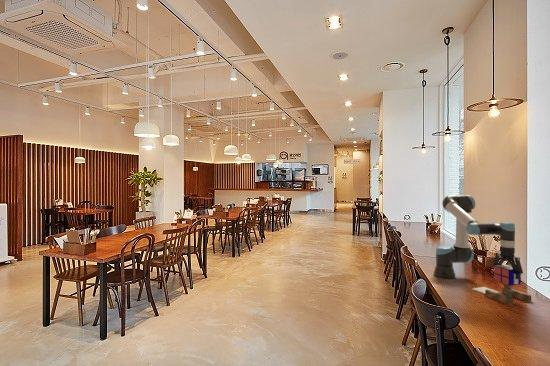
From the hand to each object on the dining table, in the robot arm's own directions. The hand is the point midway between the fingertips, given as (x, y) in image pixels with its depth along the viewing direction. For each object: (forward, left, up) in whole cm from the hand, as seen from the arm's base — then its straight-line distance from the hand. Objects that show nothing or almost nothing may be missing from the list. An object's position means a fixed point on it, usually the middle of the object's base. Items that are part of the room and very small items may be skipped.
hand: (507, 281), depth 195 cm
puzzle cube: (0, 0, -1) cm, 1 cm away
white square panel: (-14, -1, -11) cm, 18 cm away
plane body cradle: (0, 0, -11) cm, 11 cm away
